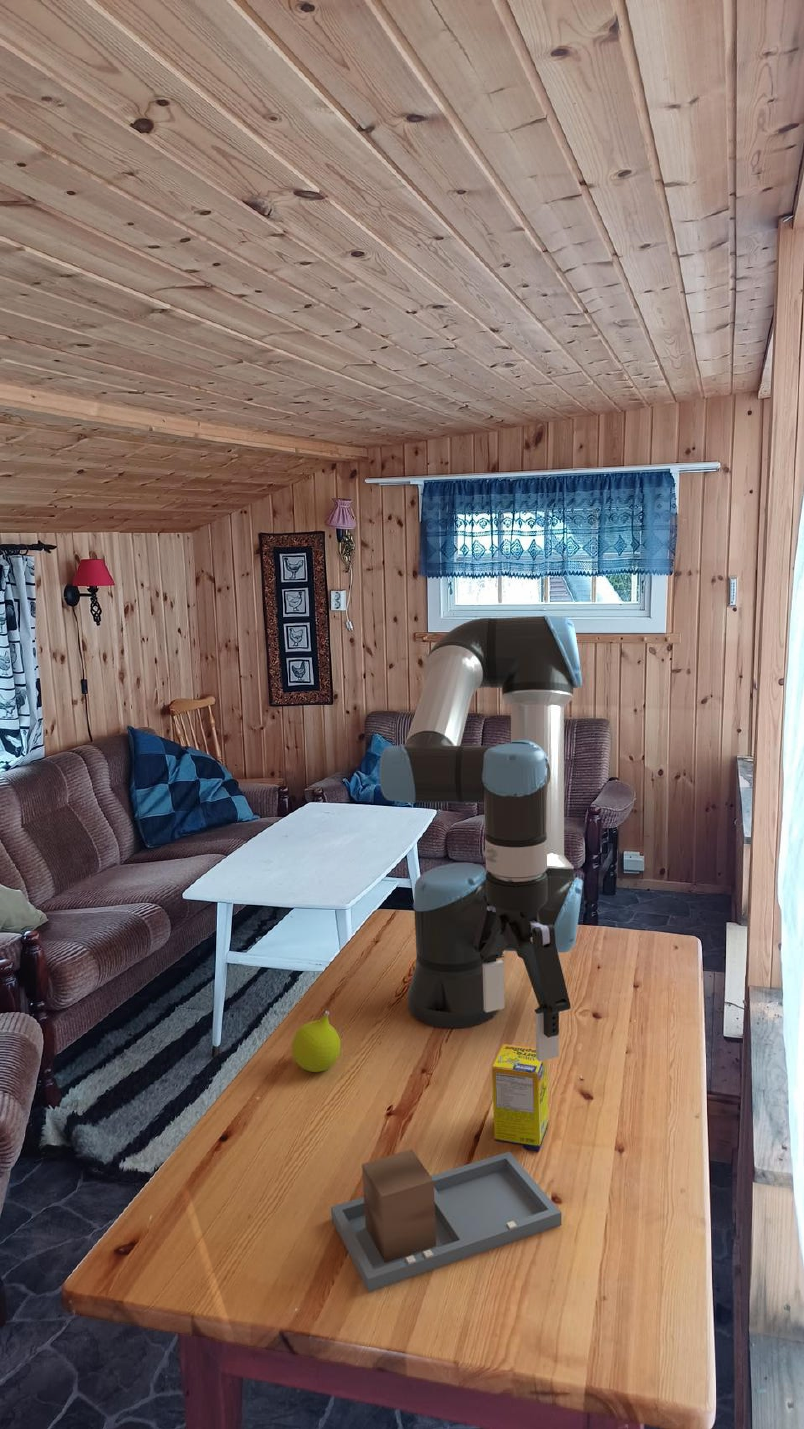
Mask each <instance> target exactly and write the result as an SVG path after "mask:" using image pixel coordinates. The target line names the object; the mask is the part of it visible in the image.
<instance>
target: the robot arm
mask: <svg viewBox="0 0 804 1429" xmlns="http://www.w3.org/2000/svg"><path fill="white" fill-rule="evenodd" d="M580 664H581V663H580V654H579V648H578V643H577V635H576V630H575V625H574V622H573V621H572V620H571V619H570V618H568V617H565V616H548V615H543V616H541V615H539V616H521V617H520V616H519V617H493V618H492V617H482V618H476V619H471V620H469V621H467V622H464V623H462V624H460V625H458V626H456V627H454V628H453V629H451V630H450V631H448V632H447V633H446V634H445V635H444V636H442V637H441V638H440V639H439V640H438V641H437V642H436V643H435V644H434V645H433V646H432V648H431V649H430V651H429V653H428V654H427V657H426V659H425V662H424V666H423V677H424V681H425V683H424V685H423V689H422V691H421V695H420V698H419V701H418V703H417V707H416V710H415V713H414V717H413V719H412V722H411V725H410V728H409V730H408V733H407V737H406V739H405V740H406V741H405V742H404V743H405V744H403V743H402V744H401V743H399V744H398V745H388V747H385V748H384V749H383V751H382V753H381V755H380V763H379V786H380V790H381V793H382V795H383V797H384V798H385V799H386V800H387V801H390V802H402V803H409V804H416V803H460V804H461V803H462V804H463V803H465V804H484V806H483V807H484V809H483V810H484V811H483V812H484V830H485V831H484V843H485V844H484V845H485V846H484V847H485V848H484V849H485V850H484V851H482V852H483V853H482V854H483V857H484V858H485V867H484V866H483V865H481V864H479V863H477V864H475V863H474V862H455V863H447V864H444V865H440V866H436V867H434V868H431V869H429V870H427V871H425V872H424V873H422V874H420V876H419V877H418V878H417V880H416V882H415V884H414V890H413V891H414V894H413V895H414V896H413V899H414V900H413V903H412V908H413V911H414V927H415V929H414V932H415V949H416V950H415V952H416V963H415V964H416V965H415V967H414V970H413V974H412V976H411V977H412V978H411V980H410V984H409V987H408V991H407V1009H408V1012H409V1013H410V1015H411V1016H412V1017H413V1018H414V1019H415V1020H417V1021H419V1022H421V1023H423V1024H426V1025H428V1026H431V1027H432V1026H433V1027H436V1028H437V1027H438V1028H447V1029H460V1028H467V1027H473V1026H477V1025H481V1024H483V1023H485V1022H487V1021H489V1020H491V1019H492V1018H494V1017H495V1016H496V1015H497V1013H498V1012H499V1011H500V1010H502V1009H504V1008H505V973H504V972H505V971H504V970H505V969H504V968H505V967H504V961H503V960H502V958H504V957H505V955H504V952H515V953H516V955H517V957H518V958H520V959H522V961H523V963H524V966H525V970H526V973H527V974H528V975H527V976H528V978H529V981H530V984H531V987H532V990H533V992H534V995H535V998H536V1001H537V1005H538V1007H535V1009H534V1014H535V1015H534V1016H535V1018H534V1022H535V1023H534V1024H535V1048H536V1059H537V1060H538V1061H543V1060H547V1061H548V1060H550V1059H553V1058H558V1057H560V1054H559V1053H560V1050H559V1048H560V1047H559V1046H560V1045H559V1040H560V1038H559V1036H560V1035H559V1033H560V1012H565V1011H568V1010H570V1009H571V1001H570V997H569V994H568V990H567V989H568V988H567V985H566V980H565V977H564V973H563V968H562V964H561V960H560V956H559V953H567V952H570V951H571V950H572V949H573V948H574V947H575V945H576V940H577V932H578V924H579V918H580V917H579V916H580V909H581V901H582V893H583V885H584V881H583V880H582V878H580V877H574V876H575V875H574V874H575V873H574V872H575V870H574V868H575V867H574V865H573V864H572V863H571V862H570V861H569V860H568V859H567V858H566V856H565V707H566V706H567V705H568V704H569V703H570V702H571V701H572V700H574V689H578V688H580V687H582V686H583V678H582V672H581V665H580ZM482 688H485V689H486V688H493V689H501V698H502V699H503V701H504V702H505V703H506V704H507V705H508V706H509V707H510V742H508V743H504V744H497V745H461V744H462V740H463V735H464V732H465V726H466V722H467V719H468V714H469V709H470V705H471V701H472V696H473V695H474V694H475V693H476V692H477V691H478V690H479V689H482ZM486 870H487V871H486ZM497 959H498V960H497Z"/></svg>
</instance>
